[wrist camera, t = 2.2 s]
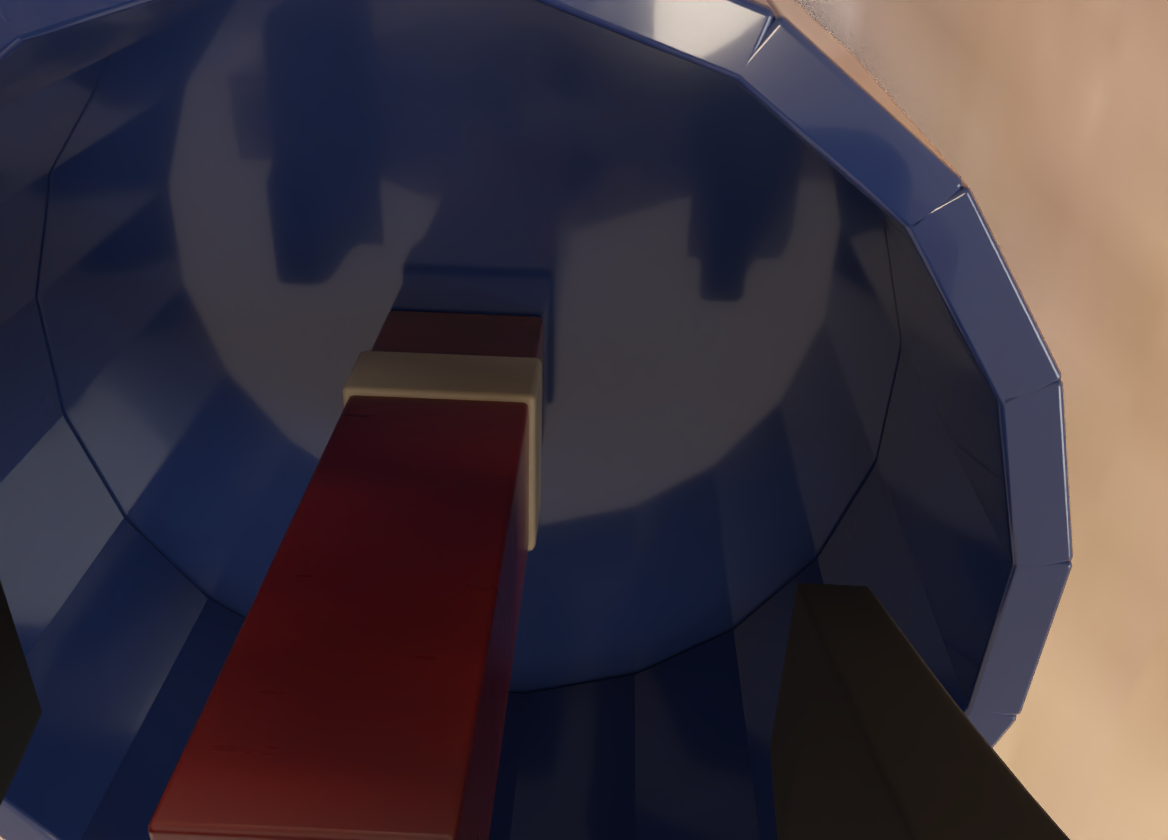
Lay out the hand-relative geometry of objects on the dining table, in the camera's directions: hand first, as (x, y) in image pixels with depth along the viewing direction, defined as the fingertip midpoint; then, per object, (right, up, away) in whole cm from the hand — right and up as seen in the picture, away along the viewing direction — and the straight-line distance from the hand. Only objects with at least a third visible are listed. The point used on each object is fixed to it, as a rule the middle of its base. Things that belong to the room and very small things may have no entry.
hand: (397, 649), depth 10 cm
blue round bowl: (0, +3, +5) cm, 6 cm away
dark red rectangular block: (0, +3, +5) cm, 5 cm away
